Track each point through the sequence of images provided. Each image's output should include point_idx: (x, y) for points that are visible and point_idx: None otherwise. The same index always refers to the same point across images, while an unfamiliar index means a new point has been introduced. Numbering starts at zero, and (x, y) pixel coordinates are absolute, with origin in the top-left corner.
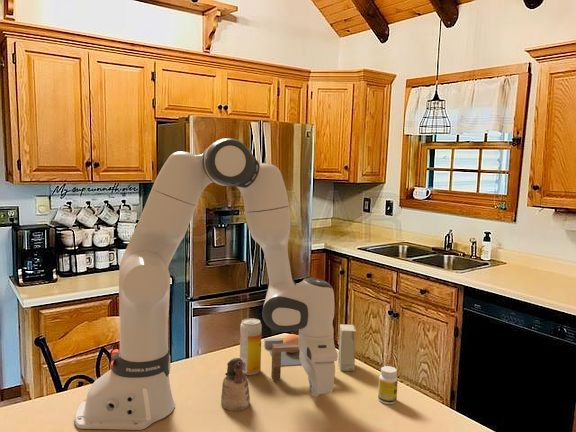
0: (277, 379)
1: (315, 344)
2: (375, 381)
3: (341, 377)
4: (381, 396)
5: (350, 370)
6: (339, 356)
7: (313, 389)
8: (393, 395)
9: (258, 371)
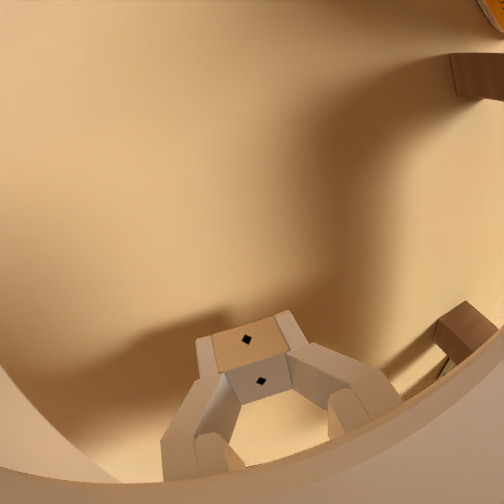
0: (463, 77)
1: None
2: None
3: (421, 364)
4: None
5: (440, 374)
6: None
7: (193, 395)
8: None
9: (494, 20)
